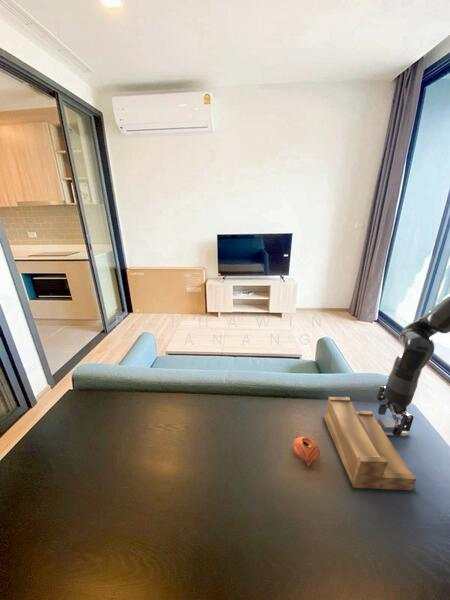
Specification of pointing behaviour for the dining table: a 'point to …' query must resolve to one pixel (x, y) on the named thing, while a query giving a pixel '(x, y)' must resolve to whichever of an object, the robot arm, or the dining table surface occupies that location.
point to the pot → (306, 449)
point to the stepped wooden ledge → (365, 448)
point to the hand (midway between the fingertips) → (388, 423)
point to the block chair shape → (388, 426)
